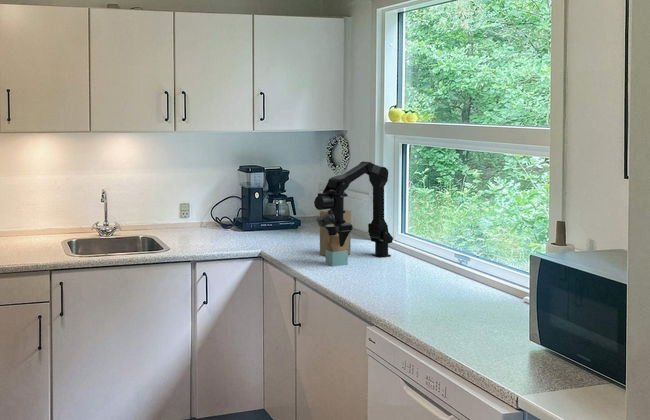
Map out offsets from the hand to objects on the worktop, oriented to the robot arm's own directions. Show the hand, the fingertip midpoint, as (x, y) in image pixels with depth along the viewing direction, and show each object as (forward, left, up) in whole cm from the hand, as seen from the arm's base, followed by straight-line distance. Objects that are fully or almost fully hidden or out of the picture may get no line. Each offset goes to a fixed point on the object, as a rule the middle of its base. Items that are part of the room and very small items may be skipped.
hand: (336, 244), depth 339 cm
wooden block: (-19, +8, -8) cm, 22 cm away
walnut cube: (0, 0, -2) cm, 2 cm away
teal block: (0, 0, -8) cm, 8 cm away
